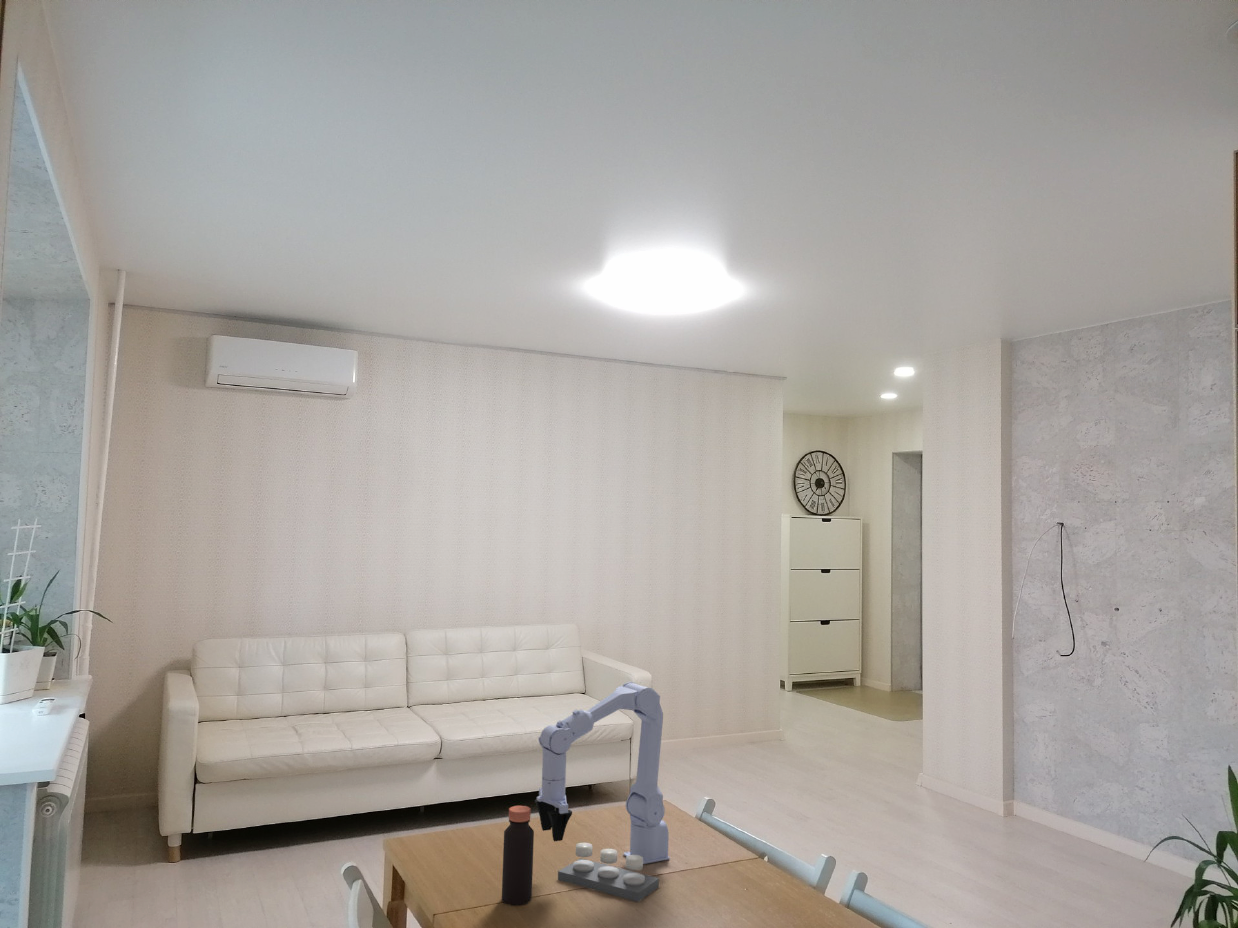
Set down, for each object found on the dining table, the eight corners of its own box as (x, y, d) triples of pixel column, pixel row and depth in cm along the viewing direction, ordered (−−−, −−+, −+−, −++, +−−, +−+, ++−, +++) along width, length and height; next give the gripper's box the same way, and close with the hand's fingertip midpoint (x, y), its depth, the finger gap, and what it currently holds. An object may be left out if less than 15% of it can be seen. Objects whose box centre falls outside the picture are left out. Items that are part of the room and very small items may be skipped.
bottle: (517, 890, 202) (520, 801, 203) (538, 899, 198) (541, 808, 199) (495, 899, 197) (498, 808, 198) (516, 908, 193) (519, 815, 194)
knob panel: (658, 886, 206) (659, 873, 207) (638, 901, 198) (638, 888, 198) (580, 866, 218) (580, 853, 218) (557, 879, 209) (558, 866, 209)
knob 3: (645, 865, 205) (646, 857, 205) (637, 871, 202) (637, 862, 202) (631, 862, 207) (631, 853, 207) (622, 867, 204) (622, 858, 204)
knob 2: (620, 859, 209) (620, 850, 209) (611, 864, 205) (611, 855, 206) (605, 855, 211) (606, 847, 211) (597, 860, 207) (597, 852, 208)
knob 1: (595, 853, 212) (595, 844, 212) (586, 858, 209) (586, 849, 209) (581, 849, 214) (581, 841, 215) (572, 854, 211) (572, 846, 211)
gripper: (528, 770, 217) (526, 827, 216) (548, 787, 203) (547, 847, 203) (554, 768, 220) (553, 823, 219) (577, 784, 206) (575, 843, 206)
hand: (552, 834), depth 211 cm, fingers open, 7 cm apart
